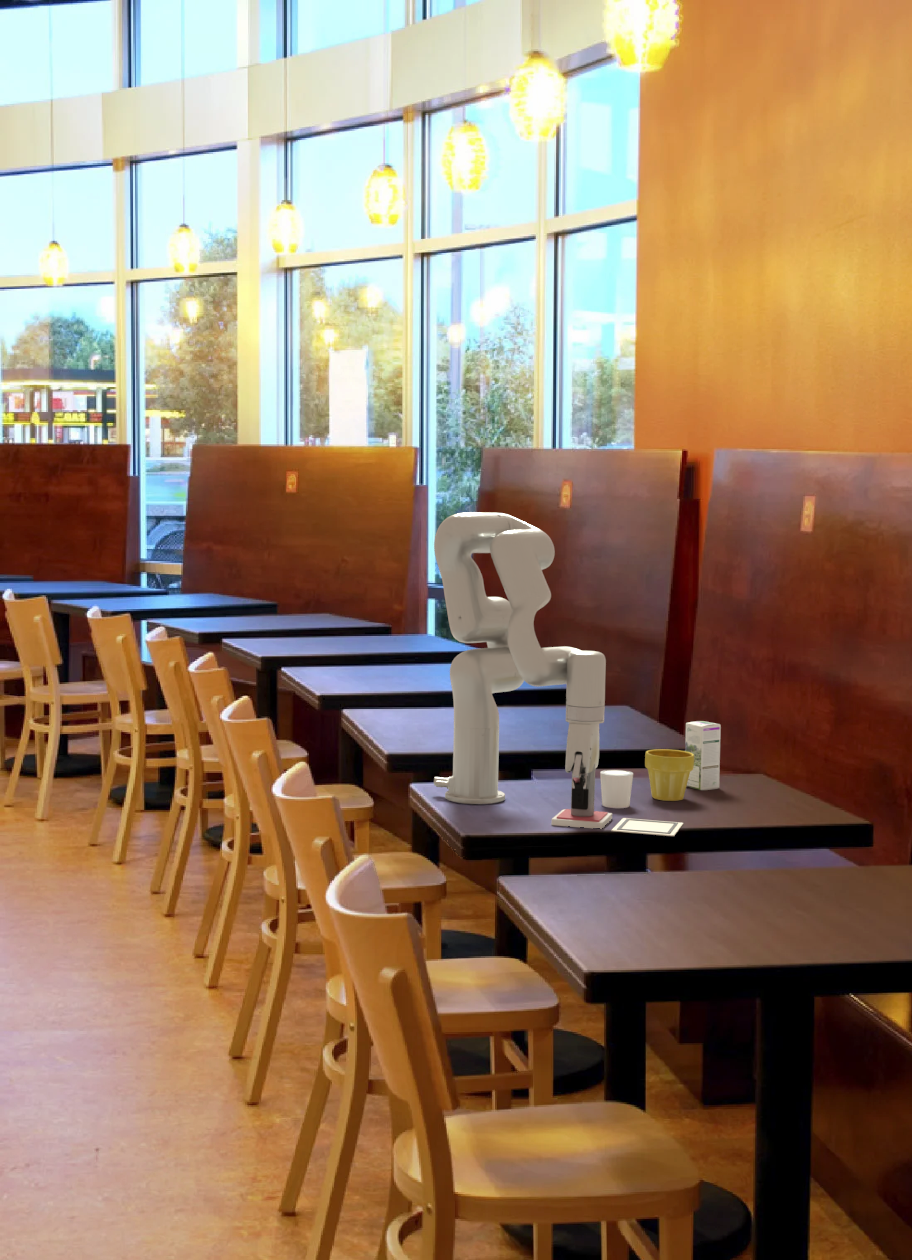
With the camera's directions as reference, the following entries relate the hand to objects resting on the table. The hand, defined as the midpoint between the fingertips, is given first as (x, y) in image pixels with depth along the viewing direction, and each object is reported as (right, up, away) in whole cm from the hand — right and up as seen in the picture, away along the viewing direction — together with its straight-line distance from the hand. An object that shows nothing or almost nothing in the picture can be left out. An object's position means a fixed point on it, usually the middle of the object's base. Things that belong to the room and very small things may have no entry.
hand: (582, 805), depth 300 cm
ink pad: (0, -3, 0) cm, 3 cm away
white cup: (+8, -2, +18) cm, 20 cm away
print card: (+12, -4, -4) cm, 13 cm away
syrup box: (+30, -1, +39) cm, 49 cm away
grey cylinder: (0, -2, 0) cm, 2 cm away
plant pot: (+20, -2, +26) cm, 33 cm away
